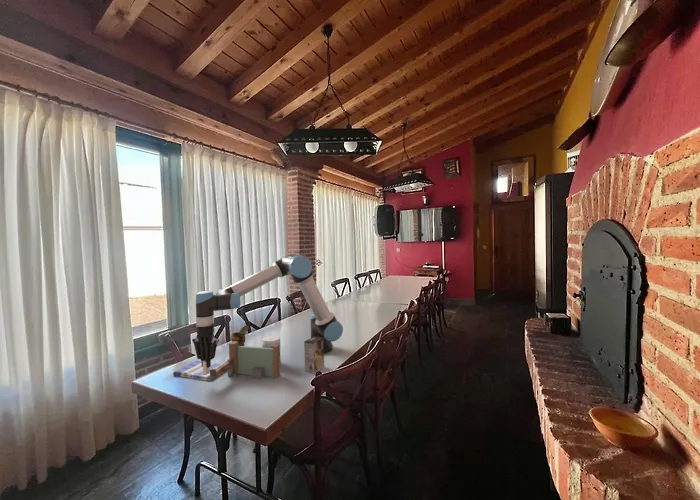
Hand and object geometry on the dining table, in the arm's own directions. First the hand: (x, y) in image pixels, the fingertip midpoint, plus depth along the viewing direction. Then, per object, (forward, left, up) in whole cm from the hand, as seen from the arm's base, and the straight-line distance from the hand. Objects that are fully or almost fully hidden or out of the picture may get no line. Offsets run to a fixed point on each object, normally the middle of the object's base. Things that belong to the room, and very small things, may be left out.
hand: (206, 373), depth 144 cm
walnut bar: (-6, -4, -1) cm, 7 cm away
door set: (-17, -13, -6) cm, 22 cm away
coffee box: (-45, -26, -6) cm, 53 cm away
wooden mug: (+7, -40, -6) cm, 41 cm away
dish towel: (+12, -13, -7) cm, 19 cm away
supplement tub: (-20, -27, -6) cm, 34 cm away
